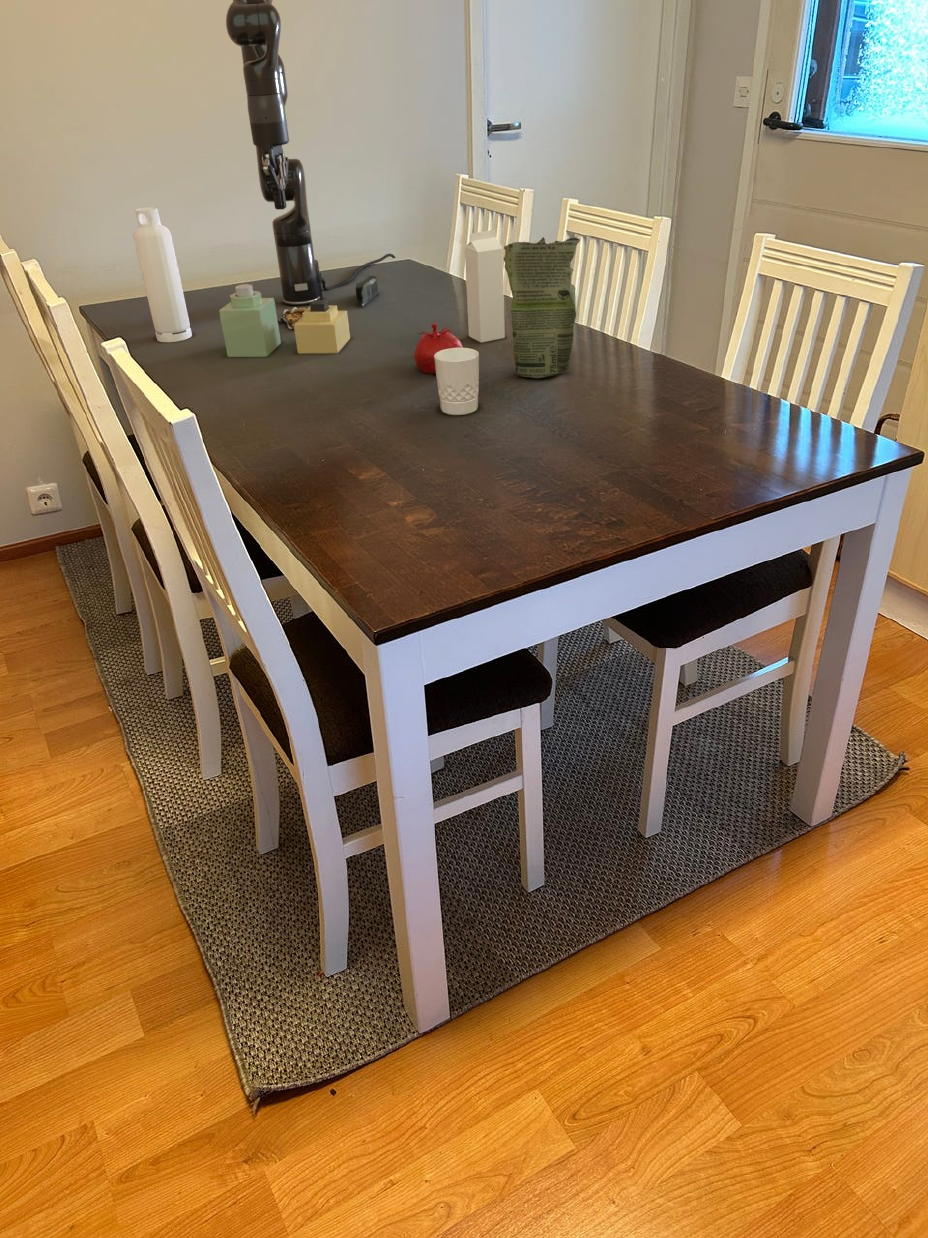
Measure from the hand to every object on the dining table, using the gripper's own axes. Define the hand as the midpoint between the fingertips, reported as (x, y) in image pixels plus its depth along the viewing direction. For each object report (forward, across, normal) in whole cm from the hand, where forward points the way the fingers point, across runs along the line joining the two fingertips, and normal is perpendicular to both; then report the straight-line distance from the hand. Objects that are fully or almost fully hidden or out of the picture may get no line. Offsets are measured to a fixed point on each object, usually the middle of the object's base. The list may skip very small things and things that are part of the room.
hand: (281, 208), depth 203 cm
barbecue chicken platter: (+27, +6, +2) cm, 28 cm away
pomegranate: (+26, -28, -38) cm, 54 cm away
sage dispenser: (+26, -14, +6) cm, 31 cm away
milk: (+27, -6, -45) cm, 53 cm away
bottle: (+27, -4, +29) cm, 40 cm away
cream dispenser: (+26, -12, -9) cm, 30 cm away
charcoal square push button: (+19, -11, -9) cm, 24 cm away
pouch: (+26, -30, -59) cm, 71 cm away
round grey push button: (+15, -14, +6) cm, 21 cm away
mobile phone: (+28, +27, -10) cm, 40 cm away
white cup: (+26, -51, -45) cm, 73 cm away
